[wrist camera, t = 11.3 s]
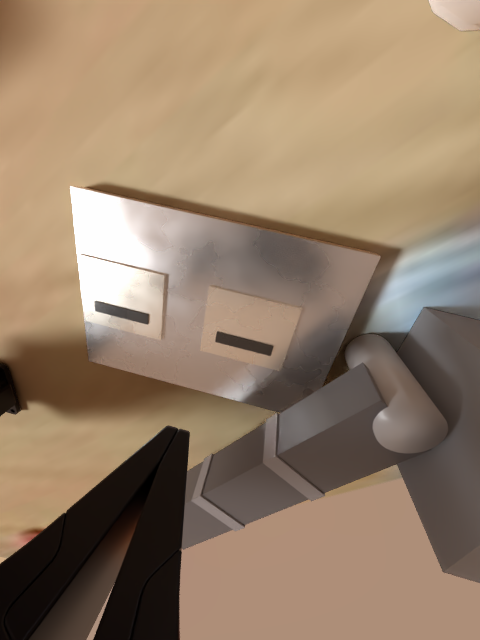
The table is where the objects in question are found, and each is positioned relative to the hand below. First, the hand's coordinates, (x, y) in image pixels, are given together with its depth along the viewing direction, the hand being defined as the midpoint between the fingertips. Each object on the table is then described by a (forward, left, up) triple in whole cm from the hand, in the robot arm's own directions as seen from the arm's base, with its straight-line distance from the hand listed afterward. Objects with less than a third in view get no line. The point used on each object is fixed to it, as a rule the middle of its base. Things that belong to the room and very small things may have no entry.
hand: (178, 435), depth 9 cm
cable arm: (+5, -9, -10) cm, 14 cm away
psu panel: (-2, 0, -10) cm, 10 cm away
